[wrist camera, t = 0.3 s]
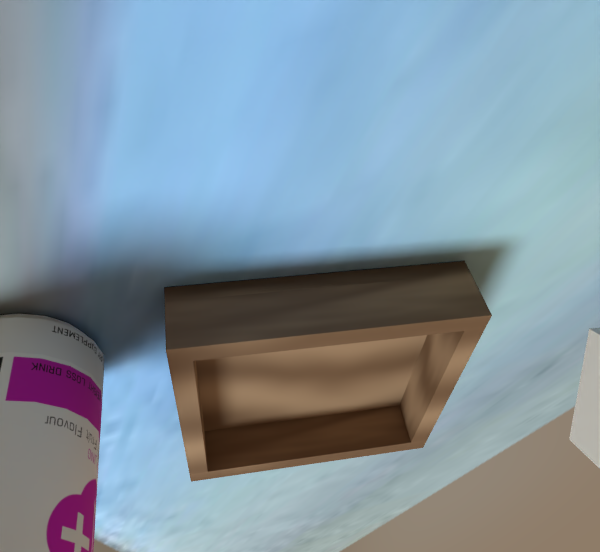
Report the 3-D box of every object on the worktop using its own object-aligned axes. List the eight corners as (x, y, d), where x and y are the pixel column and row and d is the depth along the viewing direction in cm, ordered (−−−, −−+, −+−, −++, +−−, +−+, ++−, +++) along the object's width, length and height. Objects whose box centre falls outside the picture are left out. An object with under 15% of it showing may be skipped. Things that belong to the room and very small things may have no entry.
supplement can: (102, 305, 30) (80, 628, 20) (105, 388, 36) (90, 669, 26) (-72, 305, 28) (-191, 668, 18) (-39, 393, 34) (-115, 703, 24)
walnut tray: (164, 287, 30) (165, 349, 27) (464, 260, 33) (491, 315, 30) (188, 428, 42) (191, 481, 39) (406, 400, 44) (422, 447, 42)
